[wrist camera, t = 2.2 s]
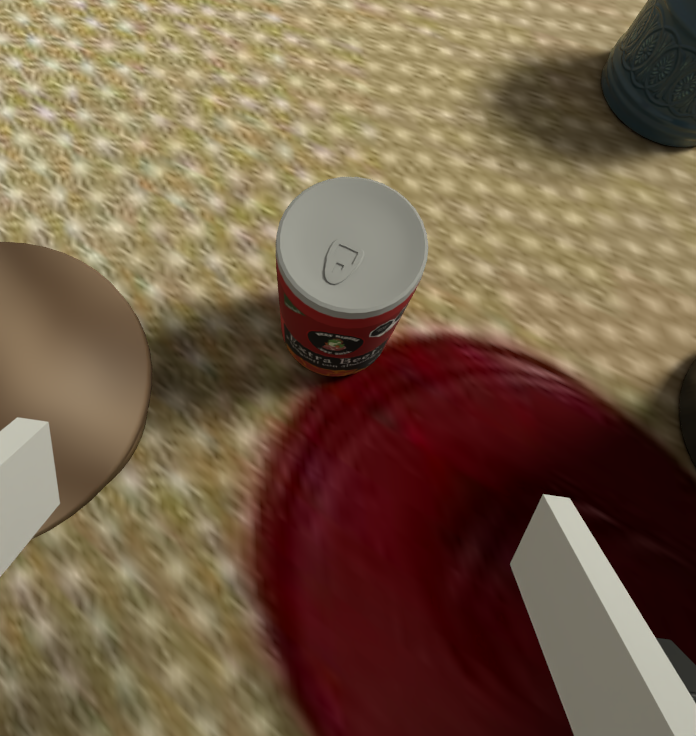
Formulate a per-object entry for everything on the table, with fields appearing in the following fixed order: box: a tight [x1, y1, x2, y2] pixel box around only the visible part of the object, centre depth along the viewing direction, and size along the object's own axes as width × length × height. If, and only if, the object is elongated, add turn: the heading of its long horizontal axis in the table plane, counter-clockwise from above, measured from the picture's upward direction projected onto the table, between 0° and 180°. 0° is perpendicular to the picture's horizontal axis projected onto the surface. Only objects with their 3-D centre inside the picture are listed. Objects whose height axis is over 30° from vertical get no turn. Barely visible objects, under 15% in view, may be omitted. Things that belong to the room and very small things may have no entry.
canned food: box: [276, 177, 428, 377], centre depth 28 cm, size 8×8×11 cm
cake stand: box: [0, 242, 152, 539], centre depth 25 cm, size 16×16×7 cm
